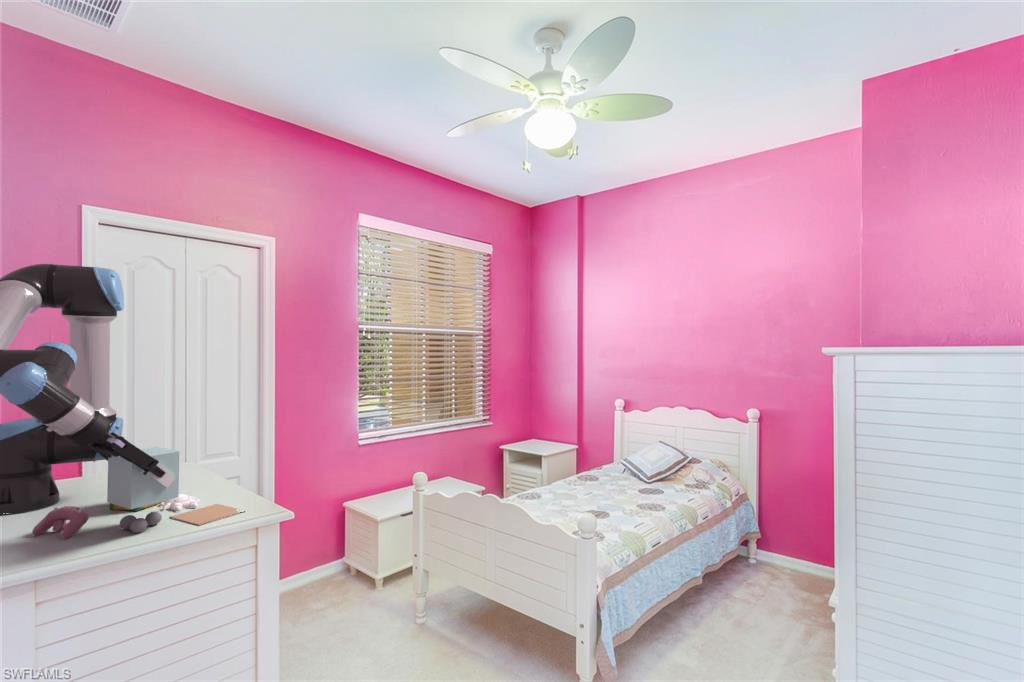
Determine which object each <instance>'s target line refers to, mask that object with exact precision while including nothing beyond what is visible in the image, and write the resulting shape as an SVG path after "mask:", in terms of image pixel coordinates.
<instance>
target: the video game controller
mask: <svg viewBox="0 0 1024 682" xmlns="http://www.w3.org/2000/svg"><path fill="white" fill-rule="evenodd" d="M89 518H90V513H89V512H88V511H86V510H84V509H83V508H82V507H78V506H71V505H64V506H61V507H54V508H53V509H52V510H51V511H49V512H48V513H47V515H45V517H43V518H42V519H41V520H40V521H39V522H38V523H37V524H36V525H35V526H34V527H33V529H32V535H33V536H34V537H36V536H37V535H38V536H41V535H42V534H44V533H46V532H47V531H48V530H49V529H51V528H52V531H53V532H54V533H61V538H62V539H64V540H68V539H69V538H71V537H74V535H75V534H77V533H78V532H79V531H80V530H81V528H82V527H83V526H84V525H85V524H86V523H87V522H88V520H89ZM67 521H68V522H67ZM38 536H37V537H38Z"/></svg>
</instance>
